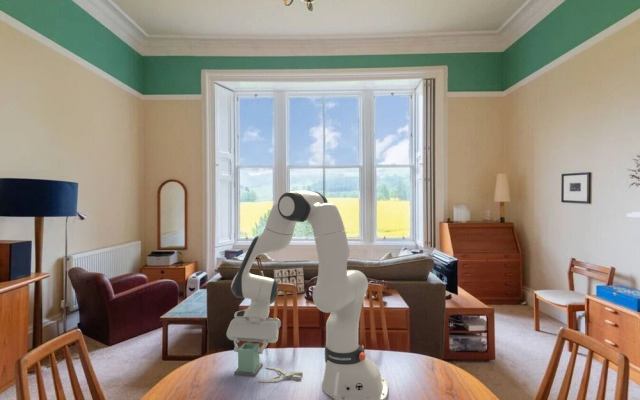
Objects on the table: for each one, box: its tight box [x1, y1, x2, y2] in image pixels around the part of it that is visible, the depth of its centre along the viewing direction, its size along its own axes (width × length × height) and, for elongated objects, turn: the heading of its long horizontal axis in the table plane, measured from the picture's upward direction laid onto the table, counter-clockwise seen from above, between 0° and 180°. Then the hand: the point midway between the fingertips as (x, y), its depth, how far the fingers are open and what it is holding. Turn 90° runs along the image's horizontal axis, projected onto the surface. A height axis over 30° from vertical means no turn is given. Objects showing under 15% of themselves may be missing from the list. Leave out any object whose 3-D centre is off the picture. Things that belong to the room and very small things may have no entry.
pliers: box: [257, 366, 304, 384], centre depth 120 cm, size 10×2×15 cm
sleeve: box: [237, 341, 260, 372], centre depth 124 cm, size 6×6×8 cm
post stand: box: [234, 348, 264, 378], centre depth 124 cm, size 8×8×8 cm
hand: (247, 352), depth 124 cm, fingers open, 8 cm apart
